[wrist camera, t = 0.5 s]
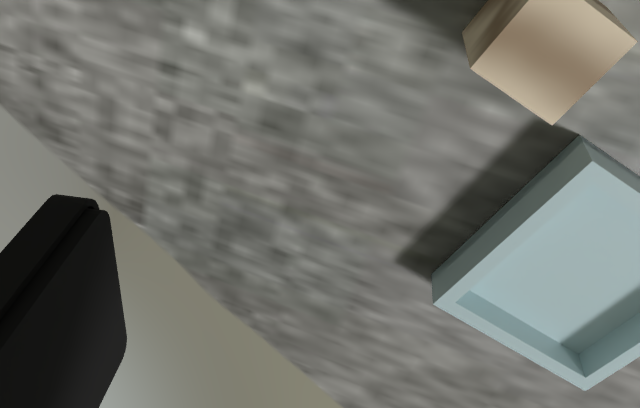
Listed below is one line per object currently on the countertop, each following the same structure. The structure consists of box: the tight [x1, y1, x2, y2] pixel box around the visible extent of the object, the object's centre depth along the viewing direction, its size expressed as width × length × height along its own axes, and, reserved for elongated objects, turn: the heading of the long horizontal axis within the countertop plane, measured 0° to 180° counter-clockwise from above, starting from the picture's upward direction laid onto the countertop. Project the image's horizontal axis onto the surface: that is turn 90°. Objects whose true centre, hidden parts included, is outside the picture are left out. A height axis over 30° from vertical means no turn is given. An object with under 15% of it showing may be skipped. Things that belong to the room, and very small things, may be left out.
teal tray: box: [431, 135, 640, 391], centre depth 45 cm, size 16×16×4 cm
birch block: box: [462, 0, 638, 125], centre depth 34 cm, size 6×6×6 cm
